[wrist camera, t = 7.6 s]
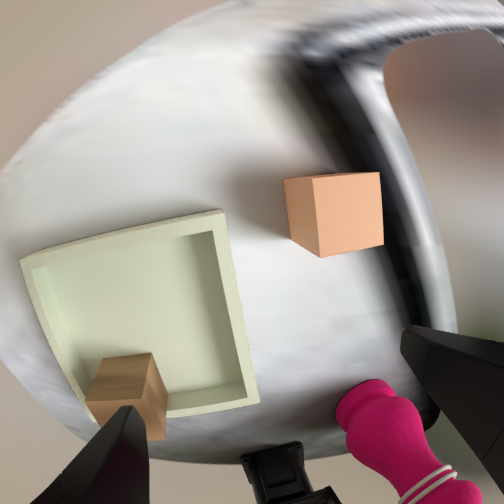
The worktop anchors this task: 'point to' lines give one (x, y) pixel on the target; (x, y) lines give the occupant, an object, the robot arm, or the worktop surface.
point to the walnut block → (130, 391)
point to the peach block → (335, 212)
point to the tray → (149, 309)
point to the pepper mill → (398, 446)
